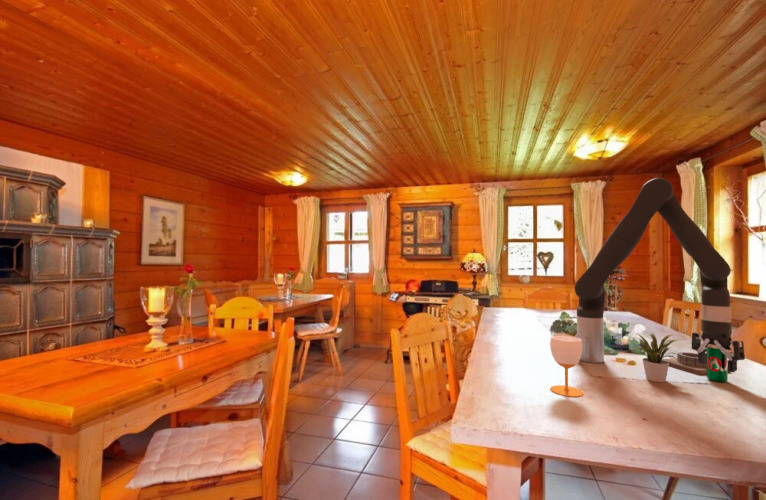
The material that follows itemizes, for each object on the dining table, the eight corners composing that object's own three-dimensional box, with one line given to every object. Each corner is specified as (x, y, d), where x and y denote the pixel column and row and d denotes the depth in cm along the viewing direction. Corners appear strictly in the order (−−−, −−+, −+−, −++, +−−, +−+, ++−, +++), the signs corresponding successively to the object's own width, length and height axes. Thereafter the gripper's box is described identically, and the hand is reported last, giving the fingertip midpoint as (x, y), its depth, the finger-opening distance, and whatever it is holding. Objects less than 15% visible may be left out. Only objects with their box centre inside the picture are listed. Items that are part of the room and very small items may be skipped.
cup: (580, 388, 112) (579, 336, 112) (586, 398, 103) (585, 342, 103) (548, 384, 115) (548, 334, 115) (552, 394, 106) (551, 340, 106)
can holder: (698, 374, 125) (697, 361, 125) (659, 363, 138) (659, 351, 138) (729, 372, 127) (729, 359, 127) (689, 361, 141) (689, 349, 141)
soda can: (719, 378, 121) (718, 342, 121) (732, 383, 116) (731, 346, 116) (702, 377, 121) (702, 342, 122) (715, 382, 116) (714, 345, 117)
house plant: (690, 379, 119) (689, 330, 120) (687, 391, 109) (686, 337, 110) (637, 370, 129) (637, 325, 129) (631, 380, 119) (630, 330, 119)
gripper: (684, 316, 125) (685, 362, 125) (731, 323, 111) (732, 375, 111) (702, 315, 127) (703, 361, 126) (750, 322, 113) (751, 374, 112)
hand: (716, 367), depth 119 cm, fingers open, 8 cm apart
